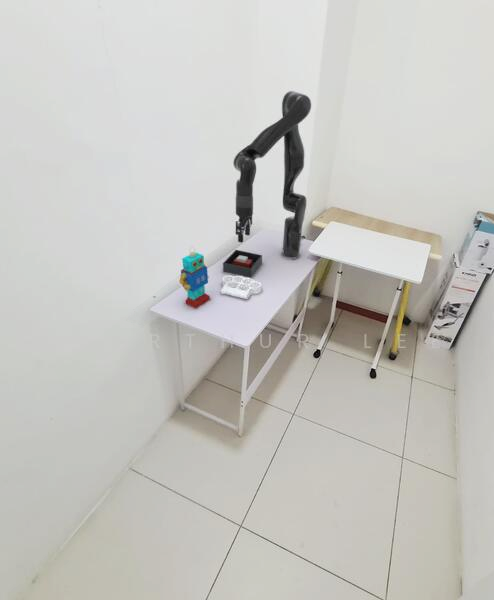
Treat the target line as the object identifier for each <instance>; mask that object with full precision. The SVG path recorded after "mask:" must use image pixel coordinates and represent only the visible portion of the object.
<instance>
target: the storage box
mask: <svg viewBox="0 0 494 600" xmlns="http://www.w3.org/2000/svg"><path fill="white" fill-rule="evenodd" d="M239 255H241V256H246V257H248V259H250V260H252V267H251V268H246V267H241V266H236V265H234V260H235V259H236V258H237V257H238V256H239ZM262 264H263V255H262V254H259V253H254V252H248V251H244V250H239V249H235V250H234V251H233V252H232V253H231V254H230V255H229V256H228V257H227V258H226V259H225V261H223V263H222V271H223V273H229V274H233V275H236V276H243V277H246V278H251V279H252V278H253V276H254V275H255V273H256V272H257V270H258V269H259V268H260V266H261V265H262Z"/></svg>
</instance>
